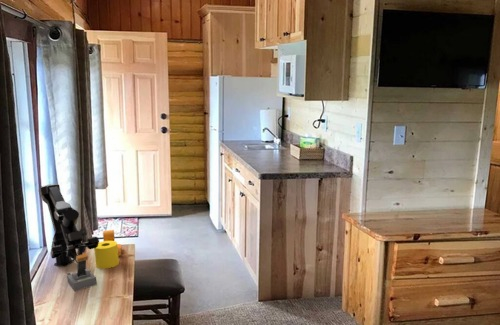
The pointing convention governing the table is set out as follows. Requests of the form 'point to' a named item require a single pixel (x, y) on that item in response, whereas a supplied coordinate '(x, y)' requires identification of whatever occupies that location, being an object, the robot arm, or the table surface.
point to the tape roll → (106, 254)
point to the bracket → (111, 239)
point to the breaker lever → (81, 264)
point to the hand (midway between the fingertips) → (80, 265)
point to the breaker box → (81, 280)
